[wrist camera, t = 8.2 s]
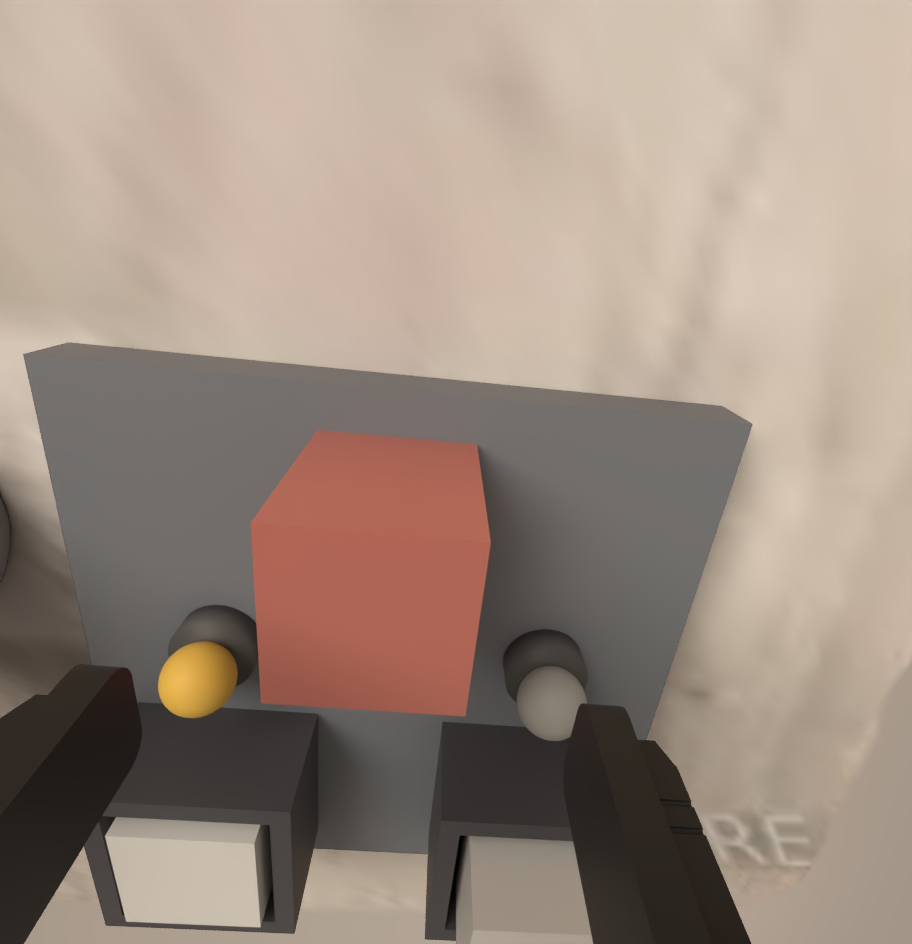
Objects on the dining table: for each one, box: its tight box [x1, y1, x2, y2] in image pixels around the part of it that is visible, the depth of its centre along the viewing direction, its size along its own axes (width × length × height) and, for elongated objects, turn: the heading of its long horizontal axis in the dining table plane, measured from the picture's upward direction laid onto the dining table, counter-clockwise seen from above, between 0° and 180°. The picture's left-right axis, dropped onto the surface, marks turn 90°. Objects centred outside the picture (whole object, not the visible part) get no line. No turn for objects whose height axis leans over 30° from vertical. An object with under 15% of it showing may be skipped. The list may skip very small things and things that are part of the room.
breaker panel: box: [23, 343, 752, 941], centre depth 19 cm, size 22×22×6 cm
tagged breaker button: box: [105, 817, 273, 927], centre depth 20 cm, size 5×5×4 cm
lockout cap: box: [250, 430, 491, 716], centre depth 15 cm, size 5×5×6 cm
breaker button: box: [456, 836, 593, 944], centre depth 19 cm, size 5×5×4 cm
